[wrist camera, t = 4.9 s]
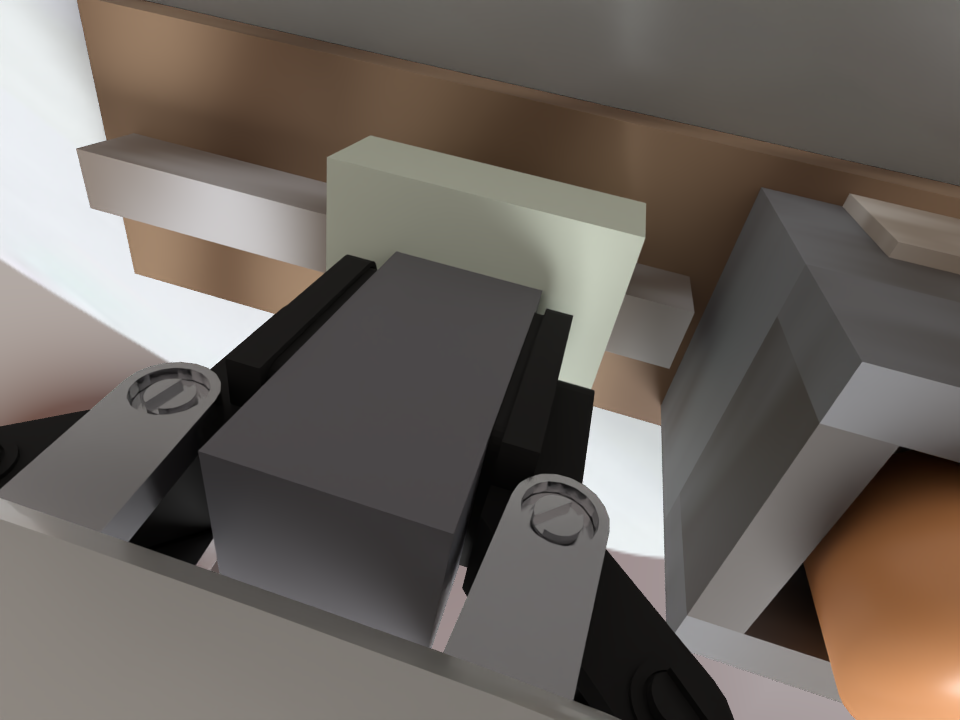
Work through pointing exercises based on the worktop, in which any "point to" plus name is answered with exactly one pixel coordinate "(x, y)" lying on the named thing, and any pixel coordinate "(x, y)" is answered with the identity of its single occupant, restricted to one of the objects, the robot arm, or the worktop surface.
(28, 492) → the robot arm
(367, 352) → the carriage
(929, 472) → the plunger
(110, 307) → the worktop surface
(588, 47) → the worktop surface
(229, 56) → the rail bench
